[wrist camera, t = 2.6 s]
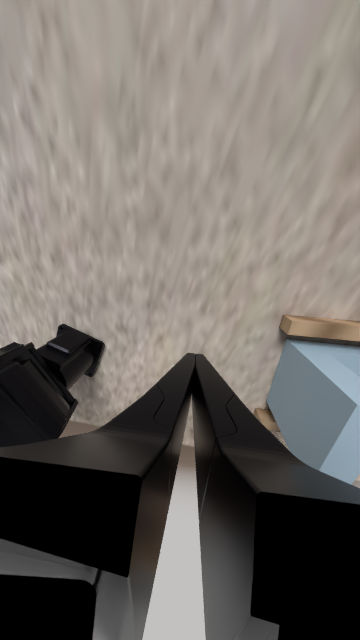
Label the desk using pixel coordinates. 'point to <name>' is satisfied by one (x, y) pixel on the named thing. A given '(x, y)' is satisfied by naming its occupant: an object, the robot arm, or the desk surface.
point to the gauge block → (319, 405)
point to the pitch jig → (311, 329)
